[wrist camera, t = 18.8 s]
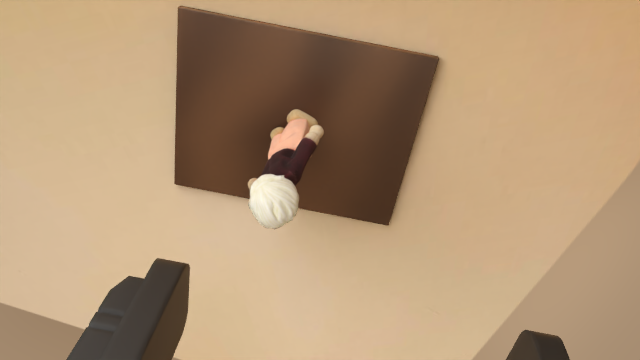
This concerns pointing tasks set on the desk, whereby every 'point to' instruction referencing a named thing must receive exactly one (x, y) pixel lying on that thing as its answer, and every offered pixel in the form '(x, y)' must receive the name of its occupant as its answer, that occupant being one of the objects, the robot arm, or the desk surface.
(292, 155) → the grandmother figurine
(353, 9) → the desk surface
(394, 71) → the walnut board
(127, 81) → the desk surface
